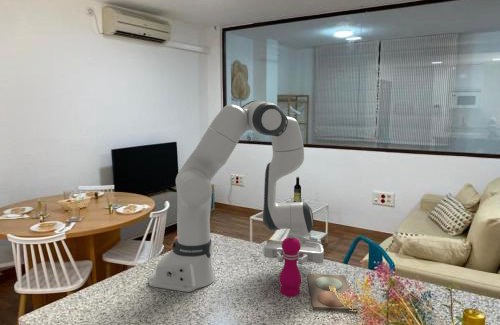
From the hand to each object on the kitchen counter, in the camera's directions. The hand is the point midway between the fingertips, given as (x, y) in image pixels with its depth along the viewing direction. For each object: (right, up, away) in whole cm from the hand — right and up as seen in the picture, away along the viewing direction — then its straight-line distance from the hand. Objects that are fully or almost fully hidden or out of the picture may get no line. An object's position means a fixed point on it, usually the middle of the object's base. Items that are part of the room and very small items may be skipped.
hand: (290, 261), depth 118 cm
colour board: (+13, -11, +2) cm, 17 cm away
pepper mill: (0, -11, +3) cm, 11 cm away
